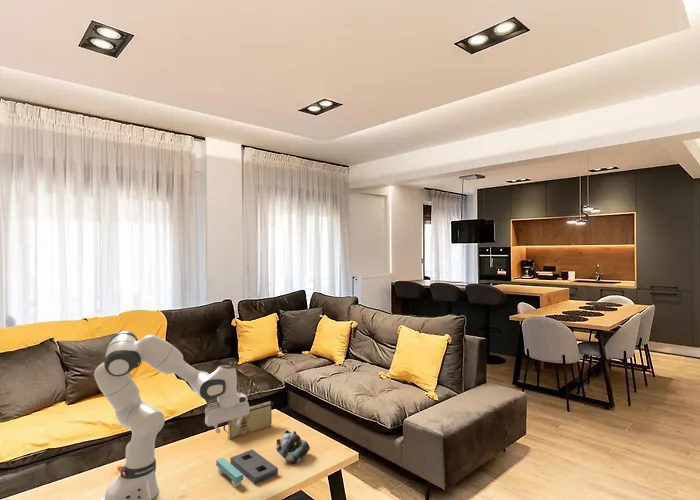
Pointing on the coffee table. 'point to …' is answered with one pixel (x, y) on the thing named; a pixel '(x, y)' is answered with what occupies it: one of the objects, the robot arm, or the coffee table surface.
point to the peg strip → (229, 471)
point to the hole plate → (254, 466)
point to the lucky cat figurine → (292, 447)
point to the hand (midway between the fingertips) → (228, 429)
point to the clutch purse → (251, 420)
